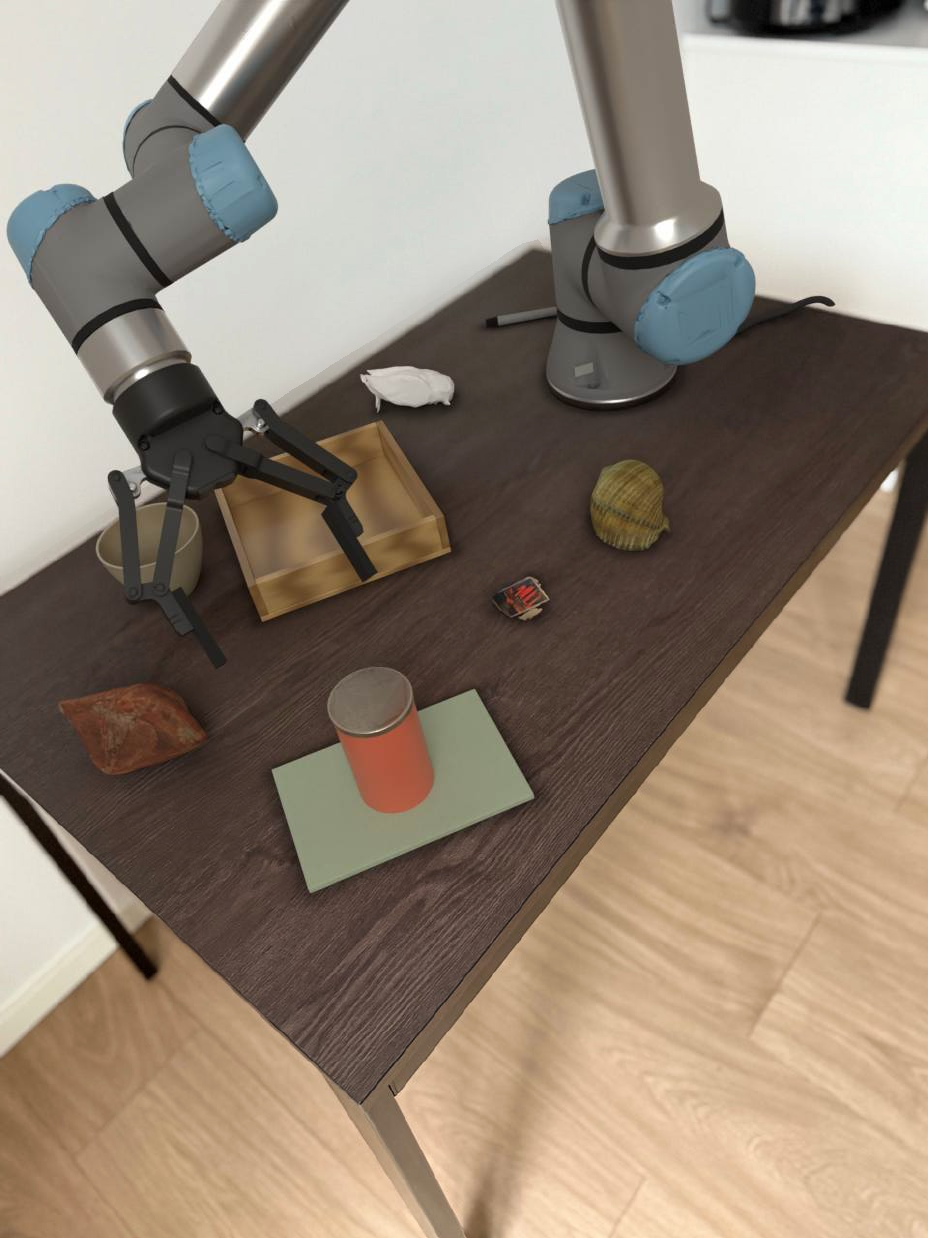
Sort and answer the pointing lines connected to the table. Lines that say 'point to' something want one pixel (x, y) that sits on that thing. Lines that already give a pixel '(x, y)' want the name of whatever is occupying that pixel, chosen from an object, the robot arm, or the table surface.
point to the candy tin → (382, 738)
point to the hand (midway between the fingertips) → (298, 620)
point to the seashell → (628, 506)
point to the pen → (521, 317)
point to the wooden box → (303, 543)
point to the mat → (362, 837)
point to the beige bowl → (156, 547)
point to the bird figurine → (409, 386)
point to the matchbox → (521, 598)
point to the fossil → (133, 726)
